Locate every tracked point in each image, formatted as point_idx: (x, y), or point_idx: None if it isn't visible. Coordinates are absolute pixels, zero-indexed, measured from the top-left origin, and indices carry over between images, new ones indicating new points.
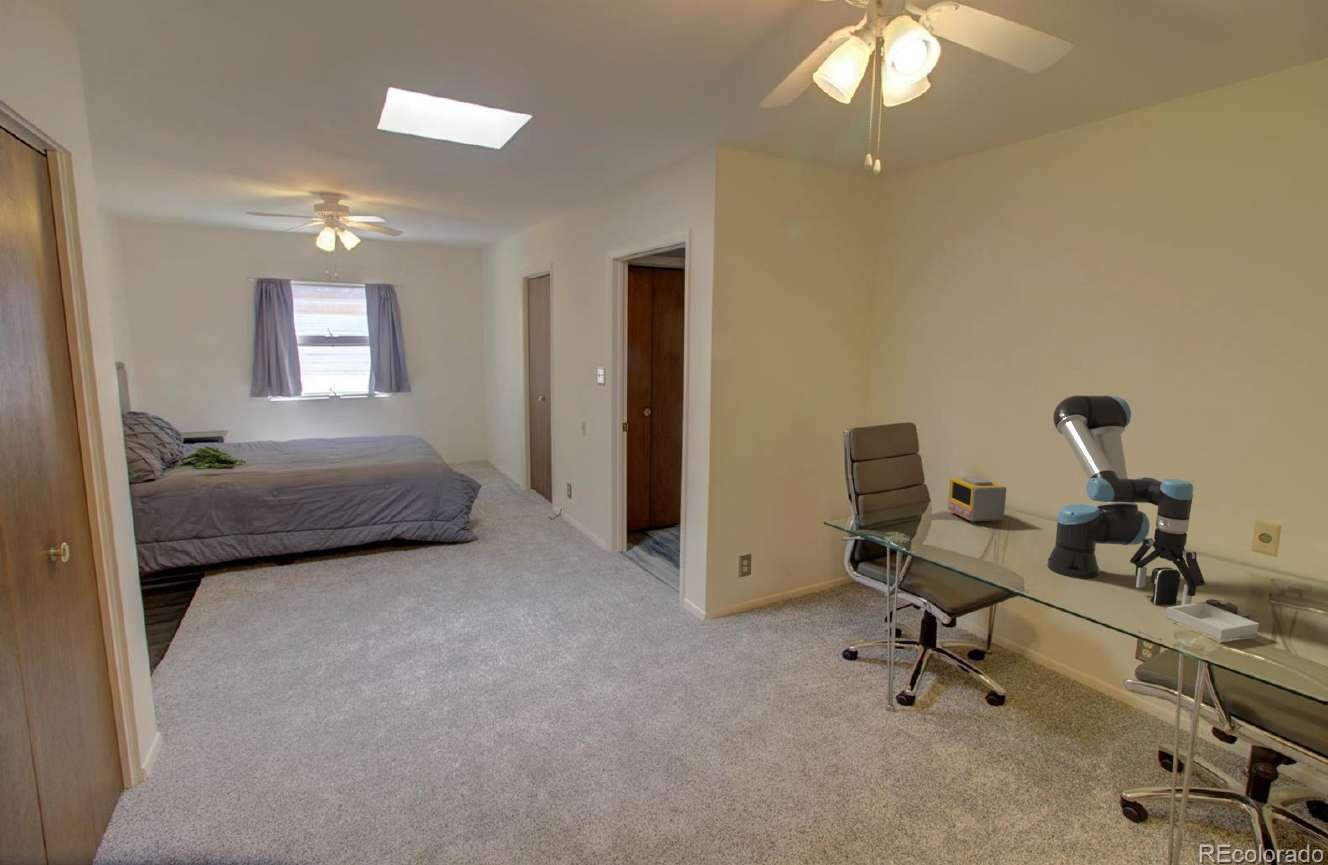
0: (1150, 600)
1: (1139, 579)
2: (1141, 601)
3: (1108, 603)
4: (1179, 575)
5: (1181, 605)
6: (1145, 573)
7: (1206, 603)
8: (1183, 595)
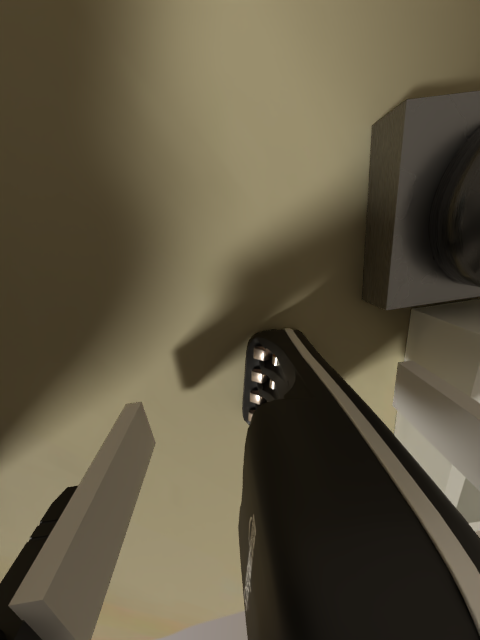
0: (250, 422)
1: (136, 500)
2: (235, 441)
3: (235, 543)
4: (474, 548)
5: (452, 479)
6: (94, 514)
7: (468, 277)
8: (448, 456)
